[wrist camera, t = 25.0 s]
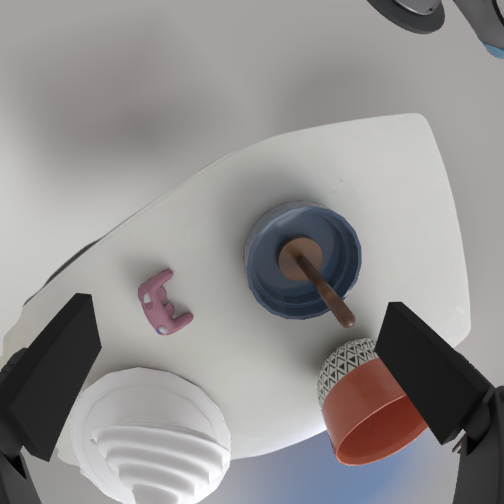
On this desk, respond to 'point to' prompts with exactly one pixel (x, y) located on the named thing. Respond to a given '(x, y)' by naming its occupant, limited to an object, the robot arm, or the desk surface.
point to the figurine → (150, 438)
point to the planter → (364, 405)
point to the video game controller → (160, 305)
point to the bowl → (332, 270)
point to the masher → (311, 272)
